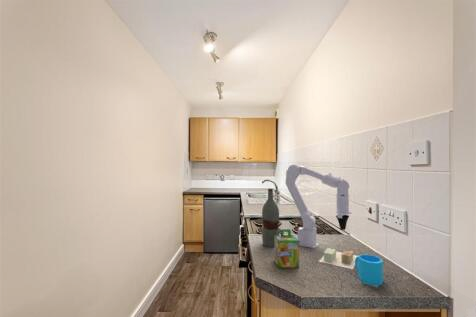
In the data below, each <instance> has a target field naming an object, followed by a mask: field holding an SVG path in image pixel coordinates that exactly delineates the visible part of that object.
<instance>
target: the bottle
mask: <svg viewBox="0 0 476 317" xmlns="http://www.w3.org/2000/svg"><path fill="white" fill-rule="evenodd" d="M279 210H280V209H279V206H278V205H277V203H276V201H275V200H274V189H273V188H268V189H267V200H266V201H265V203H264V204H263V206H262V210H261V218H262V234H261V240H262V244H263V245H264V246H265V247H268V248H269V247H270V248H271V247H272V248H274V235H280V231H279V219H280V211H279Z"/></svg>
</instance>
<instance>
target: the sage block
mask: <svg viewBox="0 0 476 317" xmlns="http://www.w3.org/2000/svg"><path fill="white" fill-rule="evenodd" d="M336 252H337V250H336V249H335V248H329V247H327V248H326V250H324V251H323V256H324V261H328V262H333V261H334V259H335V258H336Z"/></svg>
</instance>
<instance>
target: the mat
mask: <svg viewBox="0 0 476 317" xmlns="http://www.w3.org/2000/svg"><path fill="white" fill-rule="evenodd" d="M342 253H343V252H340V251H336V258H335V259H334V261H333V262H328V261H324V255H322V257H320V259H319V260H318V262H319V263H324V264H329V265H332V266H337V267H342V268H345V269H349V270H354V268H355V267H356V265H355V259H356V257H358V256H359V255H355V254H353V261H352V263H351V265H350V264H345V263H342V258H341V254H342Z"/></svg>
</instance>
